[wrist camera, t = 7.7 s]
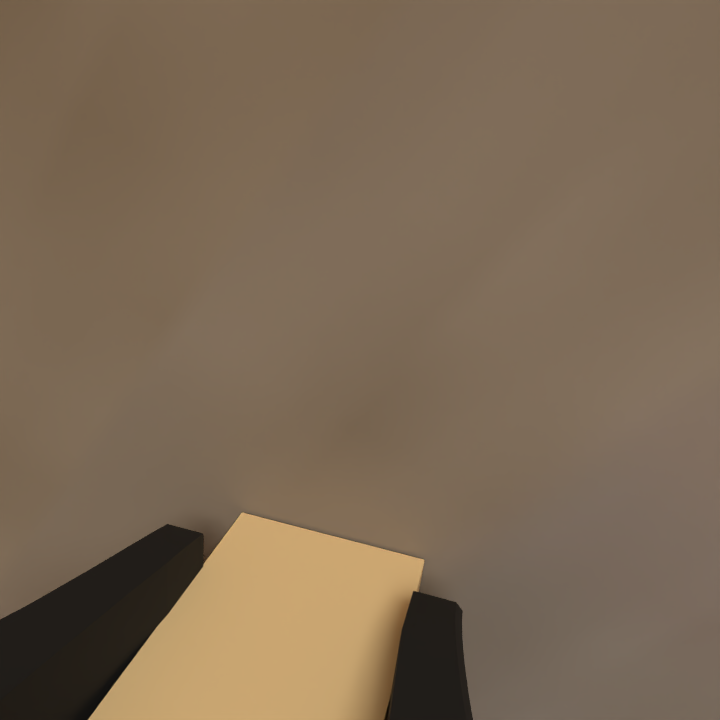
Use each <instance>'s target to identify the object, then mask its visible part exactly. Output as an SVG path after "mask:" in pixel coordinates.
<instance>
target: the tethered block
mask: <svg viewBox="0 0 720 720" xmlns="http://www.w3.org/2000/svg"><path fill="white" fill-rule="evenodd" d="M423 566H424V560H423V559H419V558H415V557H412V556H408V555H404V554H400V553H396V552H392V551H388V550H385V549H381V548H377V547H373V546H369V545H365V544H361V543H358V542H354V541H350V540H346V539H342V538H338V537H335V536H331V535H327V534H323V533H319V532H315V531H311V530H308V529H304V528H300V527H296V526H292V525H288V524H284V523H281V522H277V521H273V520H269V519H265V518H261V517H258V516H254V515H250V514H246V513H241V515H240V516H239V517H238V519H237V520H236V521H235V523H234V524H233V525H232V527H231V528H230V529H229V531H228V532H227V533H226V535H225V536H224V537H223V539H222V540H221V541H220V543H219V544H218V545H217V547H216V548H215V549H214V551H213V552H212V553H211V555H210V556H209V558H208V559H207V560H206V562H205V563H204V564H203V568H202V569H201V570H200V572H199V573H198V574H197V576H196V577H195V578H194V580H193V581H192V582H191V584H190V585H189V586H188V588H187V589H186V591H185V592H184V593H183V595H182V596H181V597H180V599H179V600H178V601H177V603H176V604H175V605H174V607H173V608H172V609H171V611H170V612H169V614H168V615H167V616H166V617H165V618H164V619H163V620H162V622H161V623H160V624H159V625H158V626H157V627H156V629H155V630H154V631H153V633H152V634H151V636H150V637H149V638H148V640H147V641H146V642H145V644H144V645H143V646H142V648H141V649H140V650H139V652H138V653H137V654H136V656H135V657H134V658H133V660H132V661H131V662H130V664H129V665H128V666H127V668H126V669H125V670H124V672H123V673H122V675H121V676H120V677H119V679H118V680H117V681H116V683H115V684H114V685H113V687H112V688H111V689H110V691H109V692H108V693H107V695H106V696H105V697H104V699H103V700H102V701H101V703H100V704H99V705H98V707H97V708H96V709H95V711H94V712H93V714H92V715H91V716H90V718H89V719H88V720H387V714H388V708H389V702H390V697H391V691H392V684H393V678H394V672H395V666H396V660H397V654H398V649H399V643H400V637H401V631H402V627H403V624H404V620H405V617H406V613H407V610H408V607H409V603H410V600H411V597H412V594H413V591H416V592H419V588H420V583H421V577H422V572H423Z"/></svg>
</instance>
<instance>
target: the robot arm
mask: <svg viewBox="0 0 720 720" xmlns="http://www.w3.org/2000/svg"><path fill="white" fill-rule="evenodd" d="M202 568H203V534H202V533H198V532H195V531H191V530H187V529H184V528H180V527H176V526H173V525H169V524H167V525H165V526H163V527H161V528H160V529H158V530H156V531H154V532H153V533H151V534H149V535H147V536H146V537H144V538H142V539H141V540H139V541H137V542H135V543H134V544H132V545H130V546H129V547H127V548H125V549H124V550H122V551H120V552H119V553H117V554H115V555H114V556H112V557H110V558H109V559H107V560H105V561H104V562H102V563H100V564H98V565H97V566H95V567H93V568H92V569H90V570H88V571H87V572H85V573H83V574H81V575H80V576H78V577H76V578H74V579H73V580H71V581H69V582H67V583H66V584H64V585H62V586H60V587H59V588H57V589H55V590H54V591H52V592H50V593H48V594H47V595H45V596H43V597H41V598H40V599H38V600H36V601H34V602H33V603H31V604H29V605H27V606H25V607H23V608H22V609H20V610H18V611H16V612H14V613H12V614H10V615H8V616H6V617H4V618H3V619H1V620H0V720H88V719H89V718H90V716H91V715H92V714H93V712H94V711H95V709H96V708H97V707H98V705H99V704H100V703H101V701H102V700H103V699H104V697H105V696H106V695H107V693H108V692H109V691H110V689H111V688H112V687H113V685H114V684H115V683H116V681H117V680H118V679H119V677H120V676H121V675H122V673H123V672H124V670H125V669H126V668H127V666H128V665H129V664H130V662H131V661H132V660H133V658H134V657H135V656H136V654H137V653H138V652H139V650H140V649H141V648H142V646H143V645H144V644H145V642H146V641H147V640H148V638H149V637H150V636H151V634H152V633H153V631H154V630H155V629H156V627H157V626H158V625H159V624H160V623H161V622H162V620H163V619H164V618H165V617H166V616H167V615H168V614H169V612H170V611H171V609H172V608H173V607H174V605H175V604H176V603H177V601H178V600H179V599H180V597H181V596H182V595H183V593H184V592H185V591H186V589H187V588H188V586H189V585H190V584H191V582H192V581H193V580H194V578H195V577H196V576H197V574H198V573H199V572H200V570H201V569H202ZM462 612H463V611H462V610H461V608H460V607H459V606H458V604H457V603H456V602H453V601H449V600H446V599H442V598H438V597H435V596H431V595H427V594H423V593H420V592H416V591H413V594H412V597H411V600H410V603H409V607H408V610H407V613H406V617H405V620H404V624H403V627H402V631H401V637H400V643H399V649H398V654H397V660H396V666H395V672H394V678H393V684H392V691H391V697H390V702H389V708H388V714H387V720H473V718H472V712H471V706H470V700H469V694H468V687H467V679H466V672H465V664H464V654H463V641H462Z"/></svg>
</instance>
